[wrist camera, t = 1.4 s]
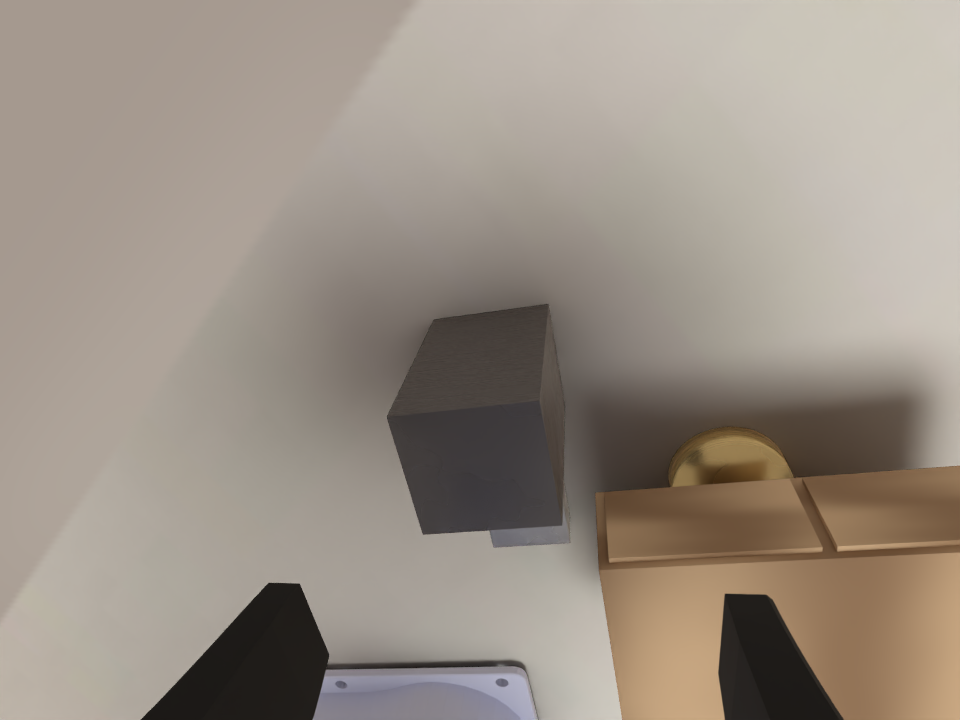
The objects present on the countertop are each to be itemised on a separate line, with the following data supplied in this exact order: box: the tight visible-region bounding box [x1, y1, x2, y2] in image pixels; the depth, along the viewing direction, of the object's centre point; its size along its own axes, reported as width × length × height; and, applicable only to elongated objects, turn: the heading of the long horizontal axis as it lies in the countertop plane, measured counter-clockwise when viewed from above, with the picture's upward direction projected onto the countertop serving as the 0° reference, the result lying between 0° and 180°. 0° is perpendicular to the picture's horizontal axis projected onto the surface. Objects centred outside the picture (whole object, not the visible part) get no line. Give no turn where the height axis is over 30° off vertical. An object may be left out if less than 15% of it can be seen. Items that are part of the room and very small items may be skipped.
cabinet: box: [595, 466, 960, 720], centre depth 18 cm, size 10×7×6 cm
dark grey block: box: [387, 304, 570, 547], centre depth 18 cm, size 8×4×6 cm, turn 11°
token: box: [668, 427, 794, 487], centre depth 20 cm, size 4×4×1 cm
